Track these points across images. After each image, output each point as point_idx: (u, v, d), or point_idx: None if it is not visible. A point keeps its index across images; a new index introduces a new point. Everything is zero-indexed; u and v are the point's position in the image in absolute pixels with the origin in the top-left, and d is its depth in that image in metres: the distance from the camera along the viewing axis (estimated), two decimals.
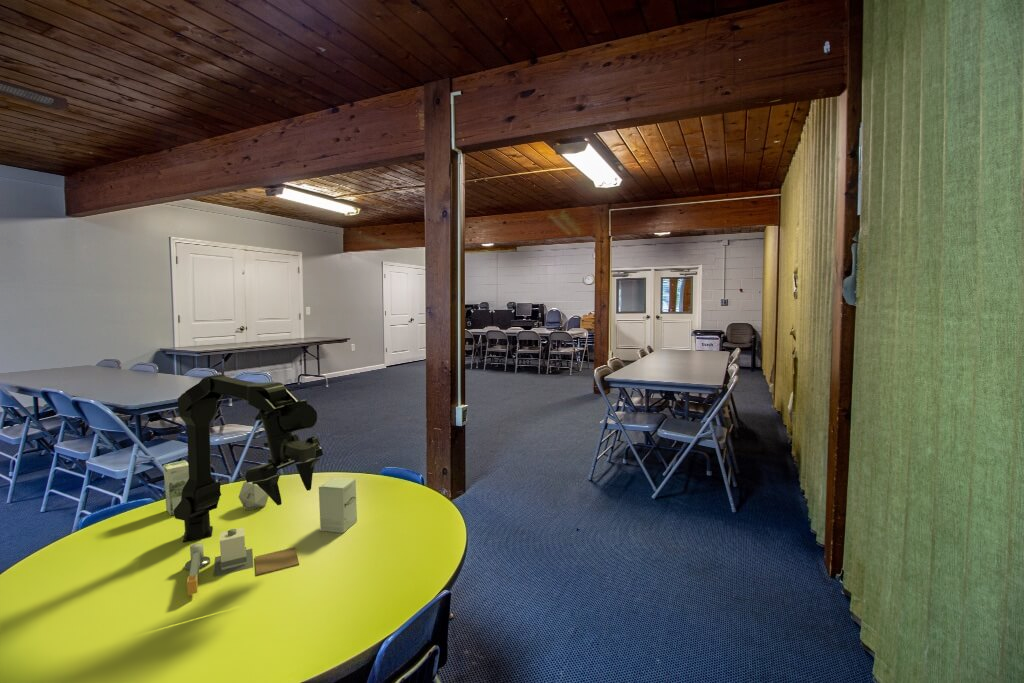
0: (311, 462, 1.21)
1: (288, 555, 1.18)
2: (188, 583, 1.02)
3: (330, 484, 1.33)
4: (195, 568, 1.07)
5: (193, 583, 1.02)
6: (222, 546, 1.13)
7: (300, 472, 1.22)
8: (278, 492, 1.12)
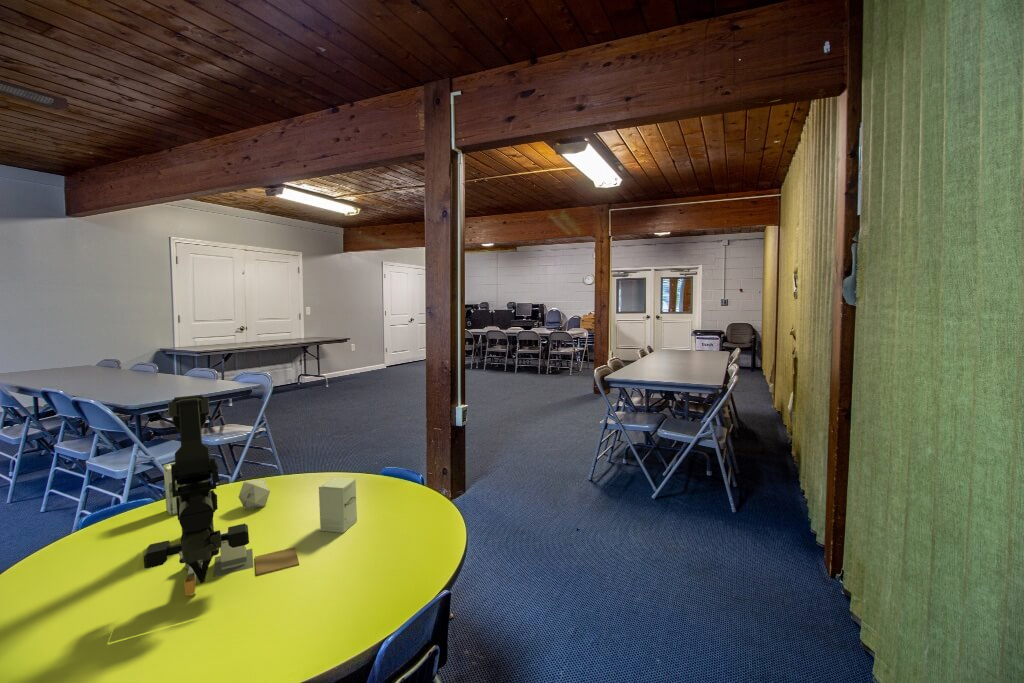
0: None
1: (288, 555, 1.18)
2: (185, 584, 1.01)
3: (330, 484, 1.33)
4: None
5: (190, 584, 1.02)
6: (222, 546, 1.13)
7: None
8: (198, 572, 1.04)
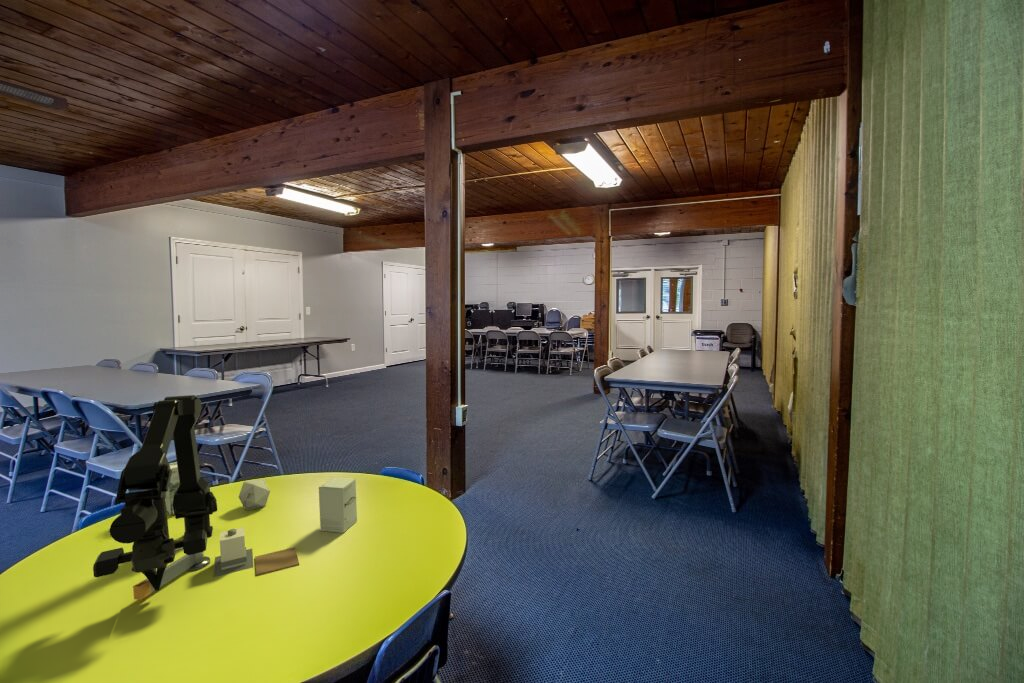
0: None
1: (288, 555, 1.18)
2: (134, 587, 1.00)
3: (330, 484, 1.33)
4: None
5: (137, 589, 1.00)
6: (222, 546, 1.13)
7: None
8: (152, 580, 1.01)
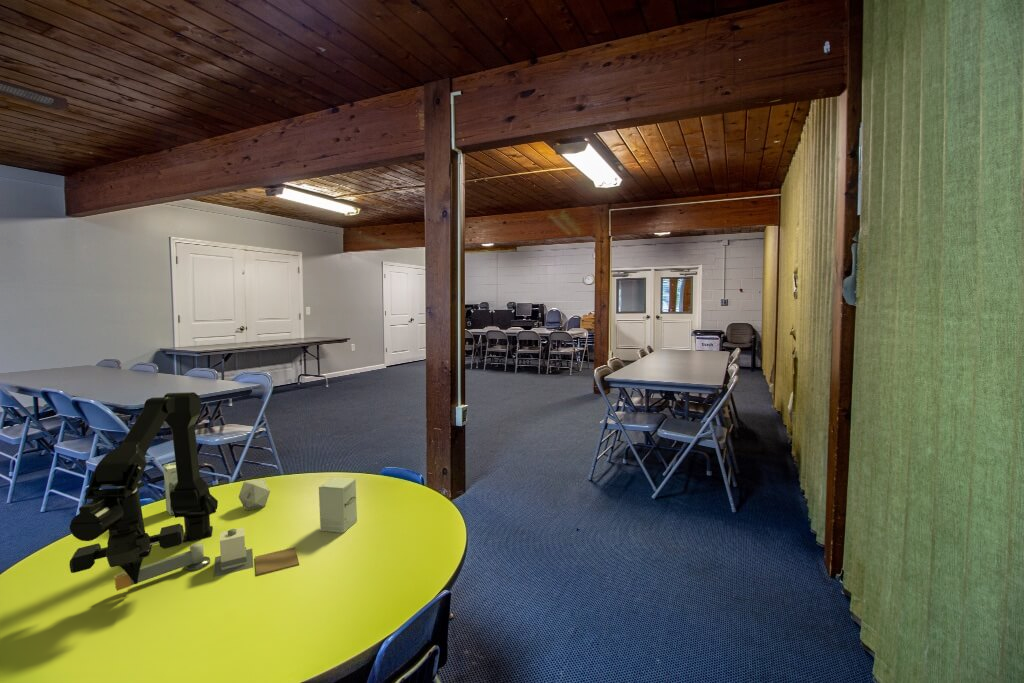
0: None
1: (288, 555, 1.18)
2: None
3: (330, 484, 1.33)
4: (146, 566, 1.08)
5: (115, 580, 1.04)
6: (222, 546, 1.13)
7: None
8: (131, 573, 1.03)
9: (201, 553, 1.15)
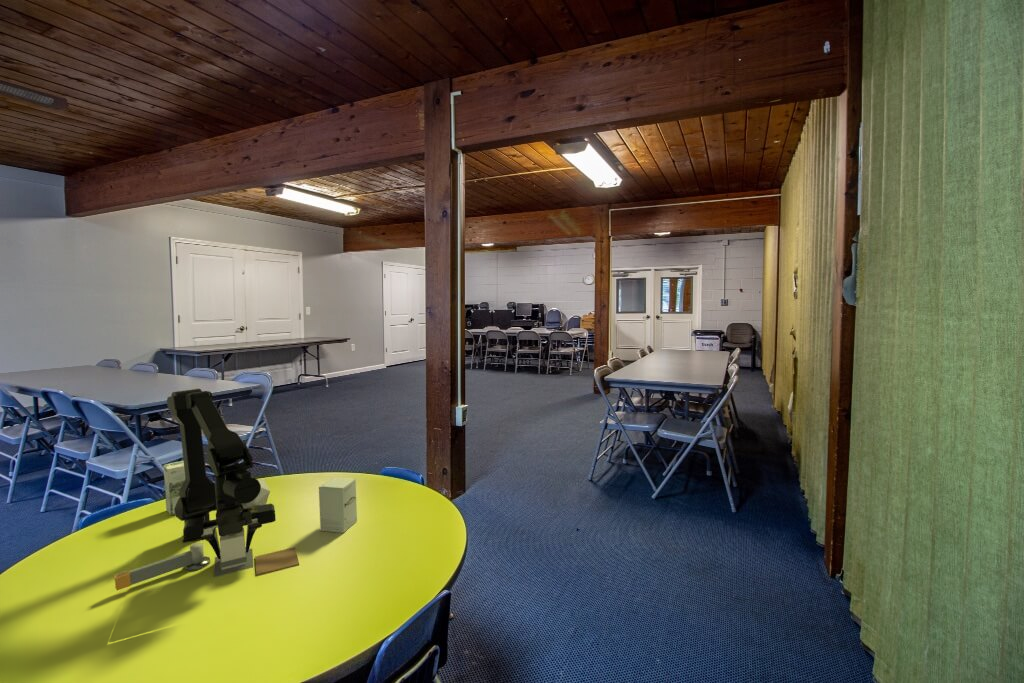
0: (248, 529, 1.15)
1: (288, 555, 1.18)
2: None
3: (330, 484, 1.33)
4: (146, 566, 1.08)
5: (115, 579, 1.04)
6: (222, 546, 1.13)
7: None
8: (216, 549, 1.14)
9: (201, 553, 1.15)
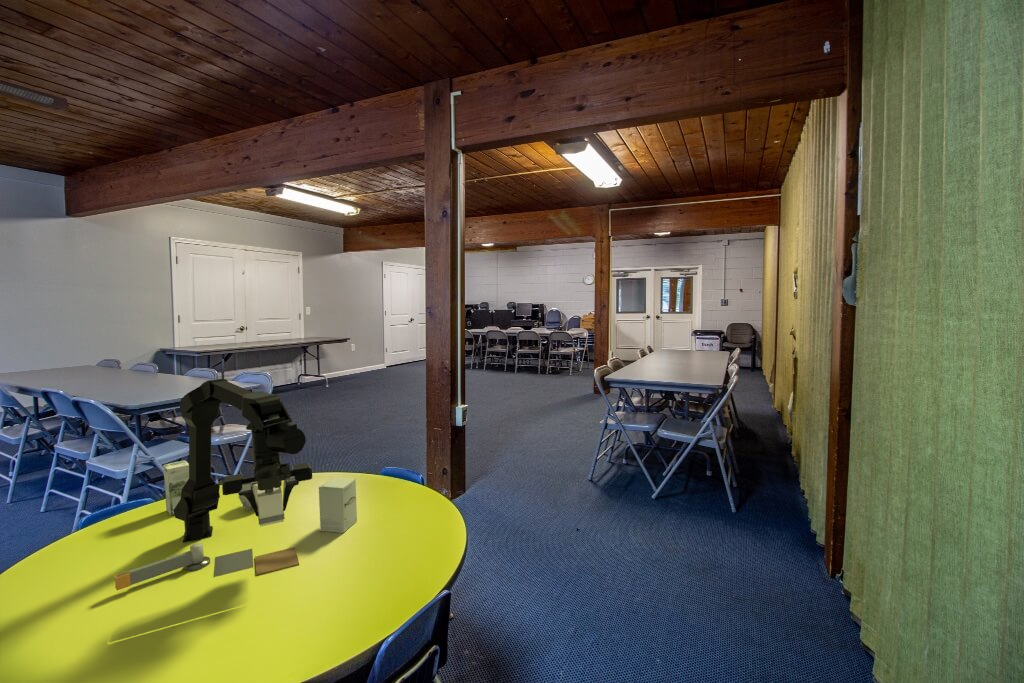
0: (285, 486, 1.14)
1: (288, 555, 1.18)
2: None
3: (330, 484, 1.33)
4: (146, 566, 1.08)
5: (115, 579, 1.04)
6: (260, 503, 1.12)
7: (283, 488, 1.18)
8: (254, 505, 1.12)
9: (201, 553, 1.15)
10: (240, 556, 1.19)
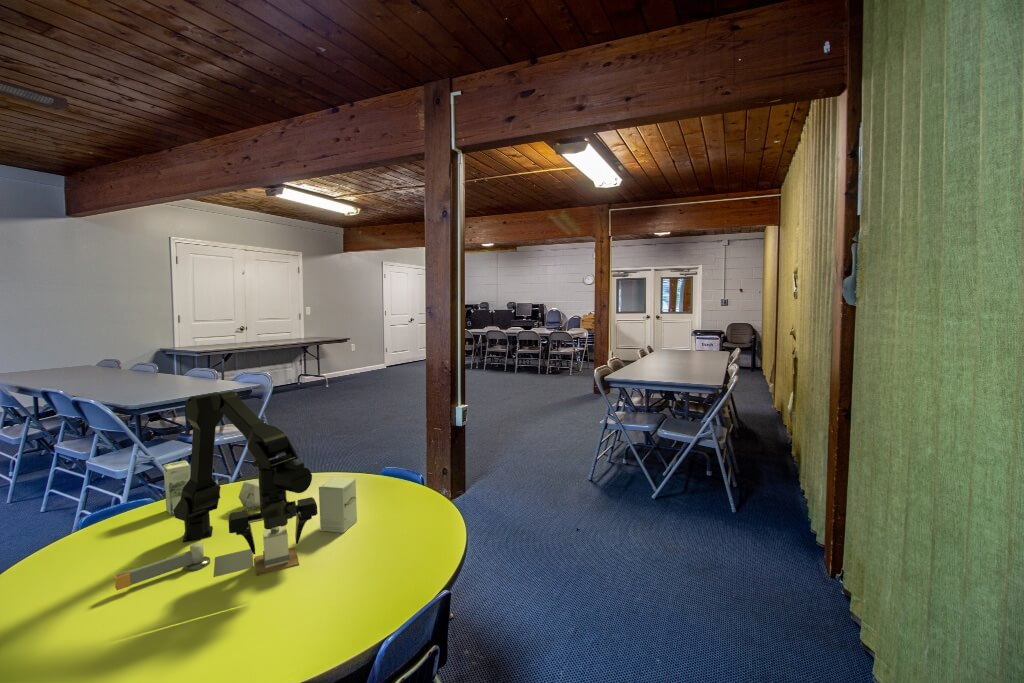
0: (299, 520, 1.16)
1: None
2: None
3: (330, 484, 1.33)
4: (146, 566, 1.08)
5: (115, 579, 1.04)
6: (266, 544, 1.13)
7: (296, 522, 1.20)
8: (251, 544, 1.13)
9: (201, 553, 1.15)
10: (240, 556, 1.19)
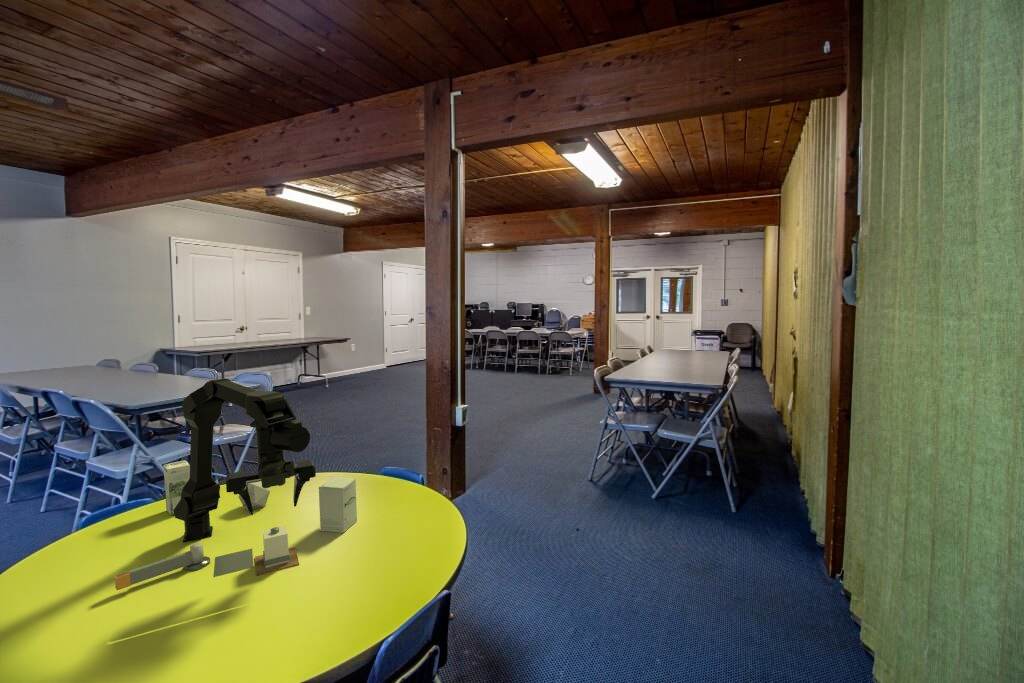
0: (297, 482, 1.15)
1: None
2: None
3: (330, 484, 1.33)
4: (146, 566, 1.08)
5: (115, 579, 1.04)
6: (266, 544, 1.13)
7: (294, 485, 1.19)
8: (249, 504, 1.12)
9: (201, 553, 1.15)
10: (240, 556, 1.19)
